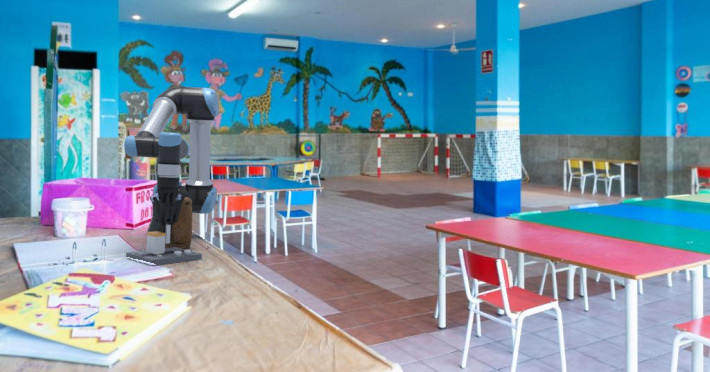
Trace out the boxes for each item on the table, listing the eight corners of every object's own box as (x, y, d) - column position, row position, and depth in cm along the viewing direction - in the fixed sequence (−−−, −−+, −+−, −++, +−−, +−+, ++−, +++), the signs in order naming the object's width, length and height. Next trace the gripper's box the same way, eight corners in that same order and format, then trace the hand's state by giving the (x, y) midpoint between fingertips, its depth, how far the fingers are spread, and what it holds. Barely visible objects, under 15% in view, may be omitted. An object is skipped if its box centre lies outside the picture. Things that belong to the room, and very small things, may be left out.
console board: (175, 252, 221) (175, 242, 221) (201, 259, 211) (201, 249, 211) (125, 258, 205) (125, 247, 205) (151, 266, 195) (151, 255, 195)
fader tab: (156, 250, 208) (157, 231, 208) (164, 253, 205) (165, 233, 205) (146, 251, 205) (147, 232, 205) (154, 254, 202) (155, 234, 201)
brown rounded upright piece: (187, 245, 235) (189, 196, 234) (192, 249, 229) (194, 198, 227) (159, 246, 229) (161, 196, 228) (164, 250, 223) (166, 198, 222)
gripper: (178, 175, 214) (175, 239, 215) (145, 175, 204) (143, 242, 205) (190, 177, 209) (187, 242, 211) (158, 177, 199) (155, 246, 200)
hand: (165, 242), depth 208 cm, fingers closed
